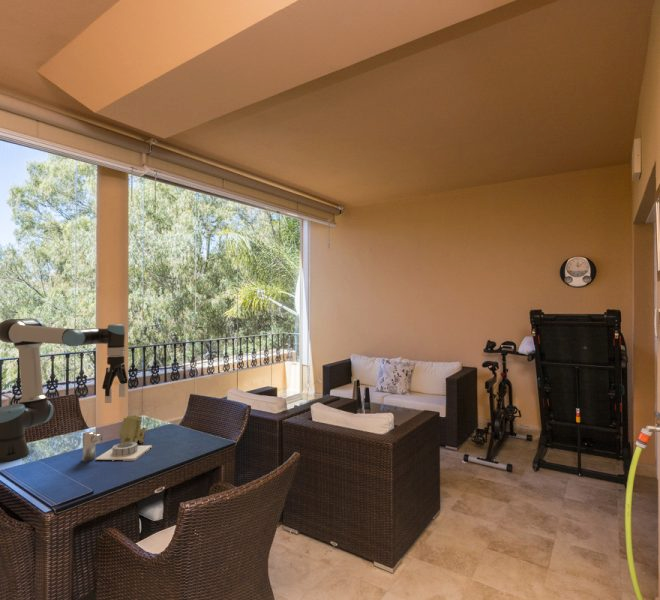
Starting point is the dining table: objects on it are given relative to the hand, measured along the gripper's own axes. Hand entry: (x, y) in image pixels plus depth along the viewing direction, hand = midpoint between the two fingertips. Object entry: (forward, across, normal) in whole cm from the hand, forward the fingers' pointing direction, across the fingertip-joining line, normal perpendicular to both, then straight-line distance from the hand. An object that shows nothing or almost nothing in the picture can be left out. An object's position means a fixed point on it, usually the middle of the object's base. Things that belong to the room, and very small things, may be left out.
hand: (115, 399), depth 200 cm
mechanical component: (+25, +11, -5) cm, 28 cm away
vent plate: (+25, -5, -7) cm, 26 cm away
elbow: (+25, -11, +5) cm, 28 cm away
